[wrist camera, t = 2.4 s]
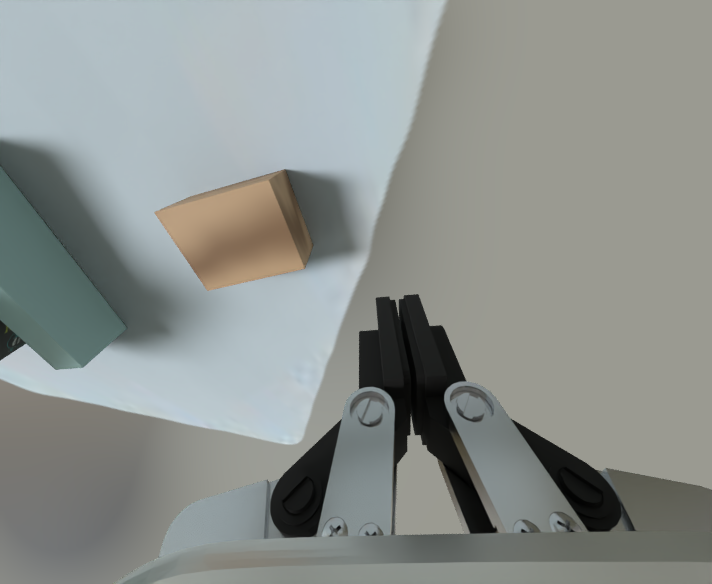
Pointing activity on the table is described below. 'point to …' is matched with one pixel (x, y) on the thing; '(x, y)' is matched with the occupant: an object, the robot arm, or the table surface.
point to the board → (48, 289)
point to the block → (240, 231)
